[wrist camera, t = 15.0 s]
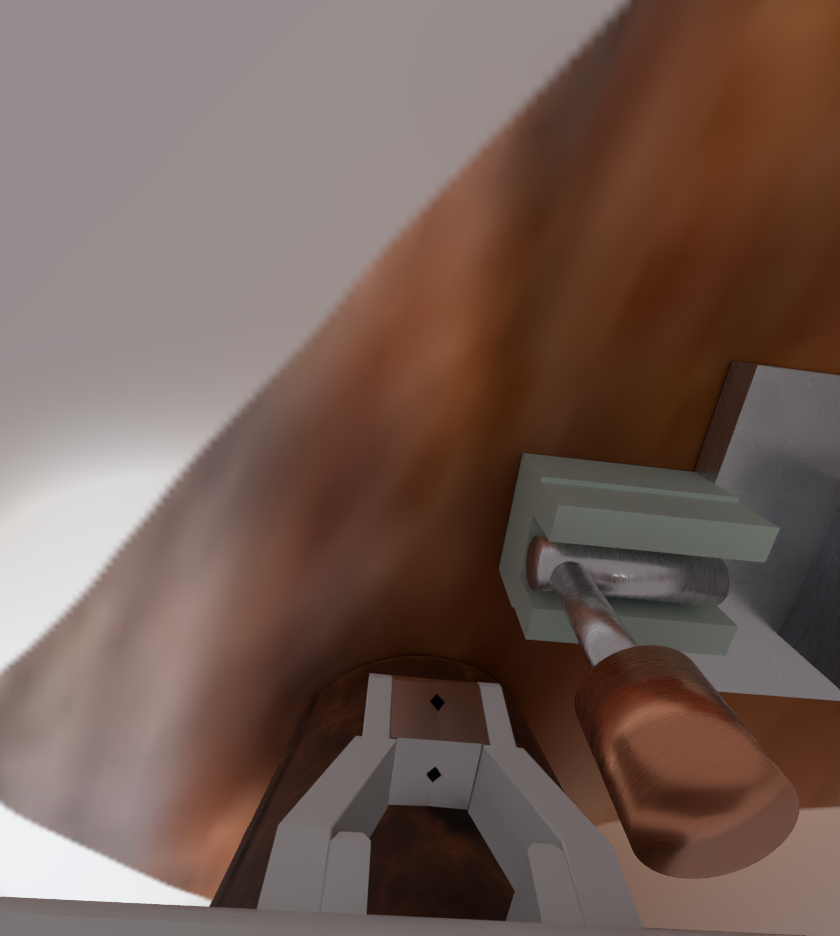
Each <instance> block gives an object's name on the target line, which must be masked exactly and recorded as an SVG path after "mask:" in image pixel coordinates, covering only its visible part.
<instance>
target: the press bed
mask: <svg viewBox="0 0 840 936" xmlns="http://www.w3.org/2000/svg"><path fill="white" fill-rule="evenodd" d="M694 472H695V473H697V474H699V475H700V476H702V477H704V478H706V479H707V480H709V481H711V482H713V483H714V484H716V485H718V486H720V487H721V488H723V489H725V490H726V491H728V492H730V493H732V494H733V495H735V496H737V497H739V499H738V502H737V503H739V504H741V505H742V506H744V507H746V508H748V509H749V510H751V511H753V512H754V513H756V514H758V515H759V516H761V517H763V518H764V519H766V520H768V521H769V522H771V523H773V524H774V525H776V526H778V527H779V528H780V529H779V532H778V534H777V536H776V539H775V541H774V543H773V546H772V548H771V550H770V553H769V555H768V557H767V560H766V562H754V561H744V560H734V559H724V558H721V559H722V560H723V561H724V563H725V565H726V567H727V569H728V572H729V577H730V587H729V592H728V595H727V597H726V599H725V600H724V601H723V602H722V603H721V604H719V605H717V606H718V607H719V608H720V609H721V610H722V611H723V612H724V613H725V614H726V615H727V616H728V617H729V618H730V619H731V620H732V621H733V622H734V623H735V624H736V625H737V626H738V628H737V630H736V632H735V635H734V637H733V640H732V642H731V644H730V647H729V649H728V651H727V654H726V656H721V655H709V654H697V653H685V652H681V653H683V654H685V655H686V656H688V657H689V658H690V659H691V660H692V661H693V662H694V663H695V664H696V666H697V667H698V668H699V669H700V671H701V672H702V673H703V674H704V676H705V677H706V678H707V679H708V681H709V682H710V683H711V684H712V686H713V687H714V688H715V689H716V691H719V692H732V693H744V694H757V695H770V696H783V697H796V698H809V699H822V700H835V701H840V689H839V688H837V687H836V686H835V685H834V684H833V683H832V682H831V681H829V680H828V679H827V678H826V677H825V676H824V675H823V674H822V673H820V672H819V671H818V670H817V669H816V668H815V667H814V666H813V665H811V664H810V663H809V662H808V661H807V660H806V659H805V658H804V657H802V656H801V655H800V654H799V653H798V652H797V651H796V650H795V649H793V648H792V647H791V646H790V645H789V644H788V643H787V642H785V641H784V640H783V639H782V638H781V637H780V636H779V632H780V630H781V628H782V626H783V624H784V622H785V620H786V617H787V615H788V613H789V611H790V609H791V607H792V605H793V602H794V600H795V598H796V596H797V594H798V592H799V589H800V587H801V585H802V583H803V581H804V579H805V577H806V574H807V572H808V570H809V568H810V566H811V564H812V561H813V559H814V557H815V555H816V553H817V551H818V549H819V546H820V544H821V542H822V540H823V538H824V536H825V534H826V531H827V529H828V527H829V525H830V523H831V521H832V518H833V516H834V514H835V512H836V510H837V508H838V506H839V503H840V375H839V374H831V373H823V372H816V371H808V370H800V369H792V368H784V367H777V366H769V365H761V364H753V363H746V362H738V361H732V362H731V365H730V368H729V371H728V374H727V377H726V380H725V383H724V386H723V389H722V392H721V395H720V398H719V400H718V403H717V406H716V409H715V412H714V415H713V418H712V421H711V424H710V427H709V430H708V433H707V436H706V438H705V441H704V444H703V447H702V450H701V453H700V456H699V459H698V462H697V465H696V468H695V471H694Z"/></svg>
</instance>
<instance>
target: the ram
mask: <svg viewBox="0 0 840 936" xmlns="http://www.w3.org/2000/svg"><path fill="white" fill-rule="evenodd" d="M526 574H527V580H528V583H529V586H530V588H531V589H533V590H541V591H552V592H553V593H554V595H555V597H556V599H557V601H558V603H559V605H560V606H561V608H562V610H563V612H564V614H565V616H566V618H567V620H568V622H569V624H570V626H571V628H572V630H573V632H574V634H575V636H576V638H577V640H578V642H579V644H580V646H581V648H582V649H583V651H584V653H585V655H586V657H587V659H588V661H589V663H590V665H591V667H592V669H591V670H590V671H589V672H588V673H587V674H586V675H585V677H584V678H583V680H582V681H581V683H580V685H579V687H578V690H577V692H576V697H575V711H576V714H577V717H578V720H579V722H580V725H581V727H582V730H583V732H584V734H585V737H586V739H587V742H588V744H589V746H590V749H591V751H592V754H593V756H594V758H595V761H596V763H597V766H598V768H599V770H600V773H601V775H602V778H603V780H604V783H605V785H606V787H607V790H608V792H609V795H610V797H611V799H612V802H613V804H614V807H615V809H616V811H617V814H618V816H619V819H620V821H621V824H622V826H623V828H624V831H625V833H626V835H627V838H628V840H629V843H630V845H631V847H632V850H633V852H634V854H635V855H636V856H637V858H638V859H639V860H640V861H641V862H642V863H643V864H644V865H645V866H647V867H649V868H650V869H652V870H654V871H656V872H658V873H661V874H664V875H667V876H672V877H677V878H687V879H697V878H698V879H699V878H709V877H715V876H721V875H725V874H728V873H731V872H735V871H738V870H741V869H743V868H745V867H748V866H750V865H752V864H754V863H756V862H758V861H759V860H761V859H763V858H764V857H766V856H767V855H768V854H770V853H771V852H773V851H774V850H775V849H776V848H777V847H778V846H780V845H781V844H782V843H783V842H784V840H785V839H786V838H787V837H788V836H789V834H790V833H791V831H792V830H793V828H794V826H795V824H796V822H797V818H798V815H799V808H800V804H799V798H798V794H797V792H796V790H795V788H794V786H793V785H792V784H791V782H790V781H789V780H788V779H787V777H786V776H785V775H784V774H783V772H782V771H781V770H780V769H779V768H778V766H777V765H776V764H775V763H774V761H773V760H772V759H771V758H770V756H769V755H768V754H767V753H766V751H765V750H764V749H763V748H762V746H761V745H760V744H759V743H758V741H757V740H756V739H755V738H754V736H753V735H752V734H751V733H750V732H749V730H748V729H747V728H746V727H745V725H744V724H743V723H742V722H741V720H740V719H739V718H738V717H737V715H736V714H735V713H734V712H733V710H732V709H731V708H730V707H729V705H728V704H727V703H726V702H725V700H724V699H723V698H722V697H721V696H720V694H719V693H718V692H717V691H716V689H715V688H714V687H713V686H712V684H711V683H710V682H709V681H708V679H707V678H706V677H705V676H704V674H703V673H702V672H701V671H700V669H699V668H698V667H697V666H696V664H695V663H694V662H693V661H692V660H691V659H690V658H689V657H688V656H686V655H685V654H683V653H681V652H680V651H677V650H675V649H673V648H669V647H665V646H658V645H643V646H638V645H637V644H636V643H635V641H634V640H633V638H632V637H631V635H630V634H629V632H628V631H627V629H626V628H625V626H624V625H623V623H622V622H621V620H620V619H619V617H618V616H617V615H616V613H615V612H614V610H613V609H612V607H611V606H610V604H609V603H608V601H607V600H606V598H605V597H604V596H607V597H618V598H629V599H640V600H651V601H662V602H673V603H684V604H695V605H707V606H717V605H719V604H721V603H722V602H723V601H724V600H725V599H726V597H727V595H728V592H729V587H730V577H729V572H728V569H727V567H726V565H725V563H724V561H723V560H722V559H721V558H714V557H703V556H693V555H683V554H673V553H663V552H652V551H642V550H632V549H622V548H612V547H601V546H591V545H581V544H571V543H561V542H550V541H549V540H548V538H547V537H541V536H534V537H533V538H532V539H531V541H530V544H529V547H528V551H527V558H526Z"/></svg>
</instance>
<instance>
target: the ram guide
mask: <svg viewBox="0 0 840 936" xmlns="http://www.w3.org/2000/svg"><path fill="white" fill-rule="evenodd" d="M738 499H739V497H737V496H735V495H733V494H732V493H730V492H728V491H726V490H725V489H723V488H721V487H720V486H718V485H716V484H714V483H713V482H711V481H709V480H707V479H706V478H704V477H702V476H700V475H699V474H697V473H695V472H691V471H682V470H673V469H664V468H655V467H646V466H637V465H628V464H619V463H610V462H601V461H592V460H583V459H574V458H565V457H556V456H547V455H538V454H529V453H523V454H522V459H521V464H520V469H519V474H518V478H517V483H516V488H515V493H514V498H513V503H512V507H511V512H510V517H509V522H508V527H507V532H506V536H505V541H504V546H503V551H502V556H501V561H500V565H499V572H500V575H501V577H502V580H503V583H504V586H505V589H506V592H507V595H508V597H509V600H510V603H511V606H512V608H515V611H516V614H517V616H518V619H519V622H520V625H521V628H522V631H523V633H524V636H525V639H528V640H540V641H552V642H564V643H576V644H579V642H578V640H577V638H576V636H575V634H574V632H573V630H572V628H571V626H570V624H569V622H568V620H567V618H566V616H565V614H564V612H563V610H562V608H561V606H560V605H559V603H558V601H557V599H556V597H555V595H554V593H553V592H552V591H541V590H533V589H531V588H530V586H529V583H528V580H527V574H526V558H527V551H528V547H529V544H530V541H531V539H532V538H533V537H534V536H541V537H547V538H548V540H549V541H550V542H561V543H571V544H581V545H591V546H601V547H612V548H622V549H632V550H642V551H652V552H663V553H673V554H683V555H693V556H703V557H714V558H724V559H734V560H744V561H754V562H766V560H767V557H768V555H769V553H770V550H771V548H772V546H773V543H774V541H775V539H776V536H777V534H778V532H779V529H780V528H779V527H778V526H776V525H774V524H773V523H771V522H769V521H768V520H766V519H764V518H763V517H761V516H759V515H758V514H756V513H754V512H753V511H751V510H749V509H748V508H746V507H744V506H742V505H741V504H739V503H737V502H738ZM604 597H605V598H606V600H607V601H608V603H609V604H610V606H611V607H612V609H613V610H614V612H615V613H616V615H617V616H618V617H619V619H620V620H621V622H622V623H623V625H624V626H625V628H626V629H627V631H628V632H629V634H630V635H631V637H632V638H633V640H634V641H635V643H636V644H637V645H638V646H643V645H658V646H665V647H669V648H673V649H675V650H677V651H680V652H685V653H697V654H709V655H721V656H726V654H727V651H728V649H729V647H730V644H731V642H732V640H733V637H734V635H735V632H736V630H737V628H738V626H737V625H736V624H735V623H734V622H733V621H732V620H731V619H730V618H729V617H728V616H727V615H726V614H725V613H724V612H723V611H722V610H721V609H720V608H719V607H718V606H707V605H695V604H684V603H673V602H662V601H651V600H640V599H629V598H618V597H607V596H604Z"/></svg>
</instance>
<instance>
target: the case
mask: <svg viewBox="0 0 840 936" xmlns="http://www.w3.org/2000/svg"><path fill="white" fill-rule="evenodd" d="M370 673H374V674H382V675H391V676H392V675H397V676H406V677H415V678H425V679H437V680H451V681H465V682H476V683H477V682H481V683H496V684H499V683H498V682H497V681H496V680H495V679H494V678H492V677H491V676H489V675H487V674H485V673H484V672H482V671H480V670H478V669H476V668H474V667H472V666H470V665H467V664H464V663H461V662H458V661H454V660H450V659H445V658H440V657H433V656H401V657H394V658H389V659H385V660H381V661H377V662H373V663H370V664H367V665H363V666H360V667H358V668H356V669H353V670H351V671H349V672H347V673H345V674H344V675H342V676H341V677H339V678H338V679H336V680H335V681H333V682H332V683H331V684H329V685H328V686H326V687H325V688H324V689H323V690H321V691H318V692H316V693H315V694H314V695H313V696H312V697H311V698H310V699H309V700H308V701H307V702H306V703H305V704H304V706H303V708H302V711H301V713H300V716H299V719H298V722H297V725H296V727H295V730H294V733H293V736H292V738H291V740H290V742H289V744H288V746H287V748H286V751H285V753H284V755H283V757H282V760H281V762H280V764H279V766H278V768H277V770H276V771H275V773H274V775H273V777H272V779H271V782H270V784H269V786H268V788H267V790H266V792H265V794H264V796H263V798H262V800H261V802H260V804H259V806H258V808H257V810H256V812H255V814H254V817H253V819H252V821H251V823H250V825H249V826H248V828H247V830H246V832H245V834H244V836H243V838H242V840H241V843H240V845H239V847H238V849H237V851H236V853H235V855H234V857H233V859H232V862H231V864H230V866H229V868H228V870H227V872H226V874H225V876H224V878H223V880H222V882H221V884H220V886H219V888H218V890H217V892H216V894H215V896H214V898H213V901H212V902H211V904H210V906H209V907H222V908H243V909H257V906H258V902H259V898H260V894H261V890H262V886H263V882H264V879H265V875H266V871H267V867H268V863H269V859H270V855H271V851H272V847H273V844H274V840H275V836H276V832H277V828H278V825H279V824H280V822H281V821H282V820H283V819H284V818H285V817H286V816H287V814H288V813H289V812H290V811H291V810H292V809H293V808H294V806H295V805H296V804H297V803H298V802H299V801H300V799H301V798H302V797H303V796H304V795H305V794H306V793H307V791H308V790H309V789H310V788H311V787H312V786H313V785H314V783H315V782H316V781H317V780H318V779H319V778H320V776H321V775H322V774H323V773H324V772H325V771H326V770H327V768H328V767H329V766H330V765H331V764H332V763H333V762H334V760H335V759H336V758H337V757H338V756H339V755H340V753H341V752H342V751H343V750H344V749H345V748H346V747H347V745H348V744H349V743H350V742H351V741H352V740H353V739H354V737H355V736H362V735H363V726H364V717H365V708H366V699H367V690H368V681H369V676H370ZM499 685H500V684H499ZM500 686H501V687H502V691H503V695H504V699H505V703H506V707H507V711H508V715H509V719H510V723H511V727H512V731H513V735H514V739H515V743H516V747H517V748H523V749H524V750H525V751H526V752H527V753H528V754H529V755H530V756H531V757H532V758H533V759H534V761H535V762H536V763H537V764H538V765H539V766H540V767H541V768H542V769H543V770H544V771H545V773H546V774H547V775H548V776H549V777H550V778H551V779H552V780H553V781H554V782H555V783H556V785H557V786H558V787H559V788H560V789H561V790H562V791H563V789H562V787H561V785H560V784H559V782H558V780H557V778H556V776H555V774H554V772H553V771H552V769H551V767H550V765H549V763H548V761H547V759H546V758H545V756H544V754H543V752H542V750H541V748H540V746H539V744H538V742H537V741H536V739H535V737H534V735H533V733H532V731H531V729H530V728H529V726H528V724H527V722H526V720H525V718H524V716H523V715H522V713H521V711H520V709H519V708H518V706H517V704H516V703H515V701H514V700H513V698H512V697H511V696H510V694H509V693H508V692H507V691H506V690H505V689H504V687H503V686H502V685H500ZM563 792H564V791H563ZM369 840H370V841H371V848H370V864H369V881H368V897H367V913H366V915H387V916H408V917H429V918H450V919H471V920H492V921H506V918H507V915H508V912H509V909H510V905H511V902H512V899H513V896H514V893H515V890H514V889H513V887H512V885H511V884H510V882H509V880H508V879H507V877H506V875H505V874H504V872H503V870H502V868H501V867H500V865H499V863H498V862H497V860H496V858H495V857H494V855H493V853H492V852H491V850H490V848H489V847H488V845H487V843H486V841H485V840H484V838H483V836H482V835H481V833H480V831H479V830H478V828H477V826H476V825H475V823H474V821H473V820H472V818H471V816H470V815H469V813H468V810H465V809H454V808H444V807H433V806H414V805H388V807H387V809H386V811H385V813H384V814H383V816H382V818H381V819H380V821H379V823H378V824H377V826H376V828H375V829H374V831H373V833H372V835H371V836H370V838H369Z"/></svg>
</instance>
